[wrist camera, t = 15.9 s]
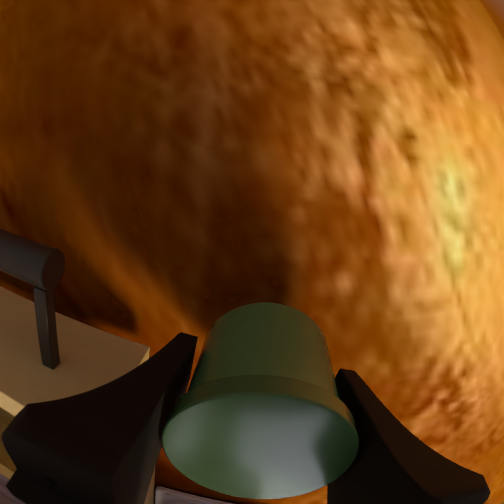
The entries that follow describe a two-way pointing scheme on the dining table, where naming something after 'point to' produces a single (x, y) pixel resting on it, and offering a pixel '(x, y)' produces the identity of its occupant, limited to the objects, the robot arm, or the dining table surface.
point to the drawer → (49, 338)
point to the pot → (262, 408)
